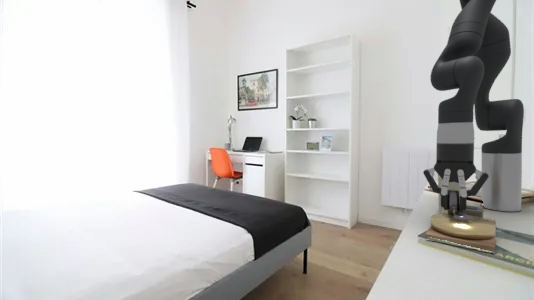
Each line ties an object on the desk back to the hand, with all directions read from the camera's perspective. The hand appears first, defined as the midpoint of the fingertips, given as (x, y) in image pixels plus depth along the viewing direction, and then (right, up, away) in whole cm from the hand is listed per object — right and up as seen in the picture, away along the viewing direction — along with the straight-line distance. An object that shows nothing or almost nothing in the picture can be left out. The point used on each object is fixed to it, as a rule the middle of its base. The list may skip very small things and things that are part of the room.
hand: (453, 210), depth 65 cm
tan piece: (+1, -5, -2) cm, 5 cm away
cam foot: (-1, -3, -5) cm, 6 cm away
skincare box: (+8, -4, +12) cm, 15 cm away
